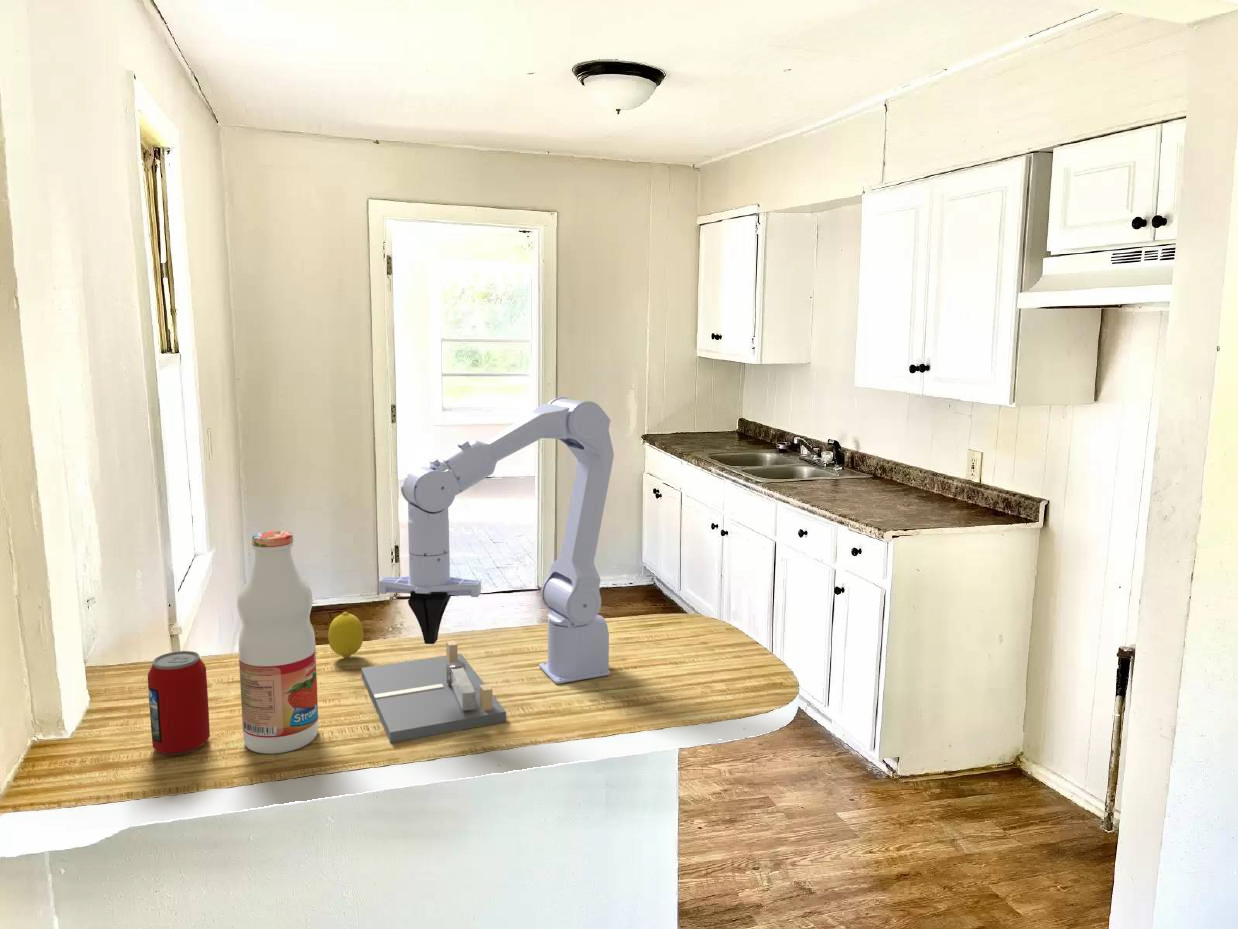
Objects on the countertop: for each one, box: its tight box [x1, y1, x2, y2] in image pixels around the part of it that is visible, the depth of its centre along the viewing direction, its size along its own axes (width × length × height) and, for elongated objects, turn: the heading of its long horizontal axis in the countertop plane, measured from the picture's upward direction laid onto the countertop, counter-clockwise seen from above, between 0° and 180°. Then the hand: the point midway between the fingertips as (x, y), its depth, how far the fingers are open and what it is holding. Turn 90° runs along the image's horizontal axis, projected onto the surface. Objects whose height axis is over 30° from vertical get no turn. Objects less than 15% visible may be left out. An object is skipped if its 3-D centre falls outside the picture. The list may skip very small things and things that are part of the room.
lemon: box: [327, 611, 364, 659], centre depth 143 cm, size 6×6×8 cm
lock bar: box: [446, 662, 475, 711], centre depth 126 cm, size 12×3×2 cm, turn 21°
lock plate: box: [360, 640, 507, 744], centre depth 128 cm, size 16×24×4 cm, turn 25°
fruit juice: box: [236, 530, 319, 755], centre depth 113 cm, size 9×9×28 cm
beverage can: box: [147, 650, 211, 756], centre depth 112 cm, size 7×7×12 cm
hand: (431, 641), depth 126 cm, fingers closed
